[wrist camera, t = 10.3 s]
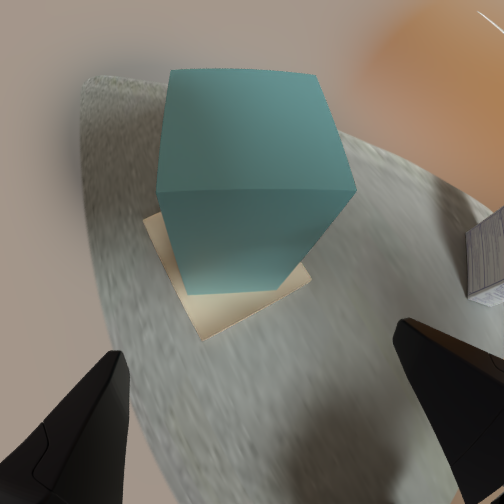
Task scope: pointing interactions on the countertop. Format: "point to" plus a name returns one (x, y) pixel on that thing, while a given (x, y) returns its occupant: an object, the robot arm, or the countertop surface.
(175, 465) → the countertop surface
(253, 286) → the teal tall cube
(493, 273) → the medicine box
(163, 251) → the peg stand
